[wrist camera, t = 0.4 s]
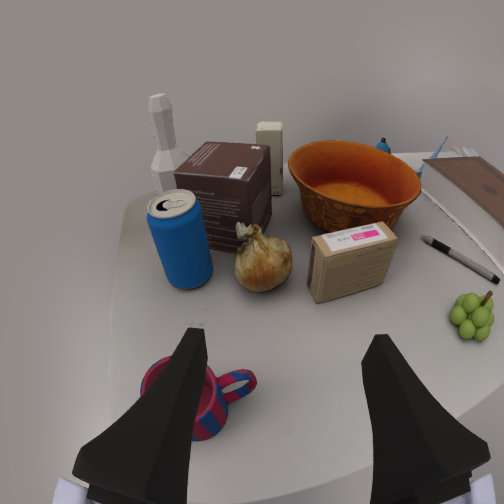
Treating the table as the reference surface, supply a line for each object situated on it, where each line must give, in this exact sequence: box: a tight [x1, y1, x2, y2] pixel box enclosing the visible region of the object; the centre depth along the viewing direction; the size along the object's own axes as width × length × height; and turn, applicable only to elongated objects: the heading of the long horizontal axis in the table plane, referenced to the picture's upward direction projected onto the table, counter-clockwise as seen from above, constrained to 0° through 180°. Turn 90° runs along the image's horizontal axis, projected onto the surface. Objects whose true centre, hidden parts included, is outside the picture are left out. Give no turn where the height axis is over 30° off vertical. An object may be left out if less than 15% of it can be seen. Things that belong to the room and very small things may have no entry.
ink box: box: [307, 222, 398, 304], centre depth 35 cm, size 10×4×8 cm, turn 104°
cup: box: [140, 356, 257, 441], centre depth 24 cm, size 7×10×7 cm
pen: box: [422, 235, 500, 284], centre depth 39 cm, size 1×16×1 cm, turn 46°
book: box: [420, 157, 504, 274], centre depth 45 cm, size 24×28×7 cm
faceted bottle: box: [148, 93, 190, 195], centre depth 42 cm, size 6×6×22 cm
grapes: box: [450, 291, 494, 341], centre depth 28 cm, size 7×7×6 cm
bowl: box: [288, 140, 421, 233], centre depth 45 cm, size 21×21×10 cm
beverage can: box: [147, 189, 213, 289], centre depth 36 cm, size 6×6×12 cm
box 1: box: [173, 142, 272, 253], centre depth 43 cm, size 11×11×13 cm
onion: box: [234, 222, 292, 292], centre depth 36 cm, size 8×8×8 cm
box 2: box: [256, 122, 283, 195], centre depth 51 cm, size 5×4×13 cm
